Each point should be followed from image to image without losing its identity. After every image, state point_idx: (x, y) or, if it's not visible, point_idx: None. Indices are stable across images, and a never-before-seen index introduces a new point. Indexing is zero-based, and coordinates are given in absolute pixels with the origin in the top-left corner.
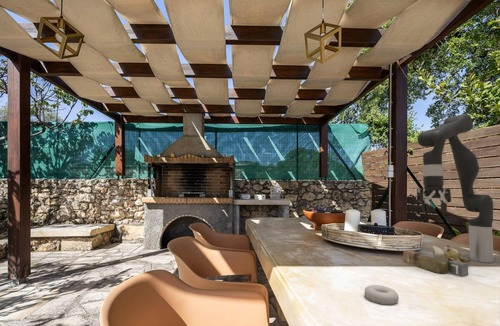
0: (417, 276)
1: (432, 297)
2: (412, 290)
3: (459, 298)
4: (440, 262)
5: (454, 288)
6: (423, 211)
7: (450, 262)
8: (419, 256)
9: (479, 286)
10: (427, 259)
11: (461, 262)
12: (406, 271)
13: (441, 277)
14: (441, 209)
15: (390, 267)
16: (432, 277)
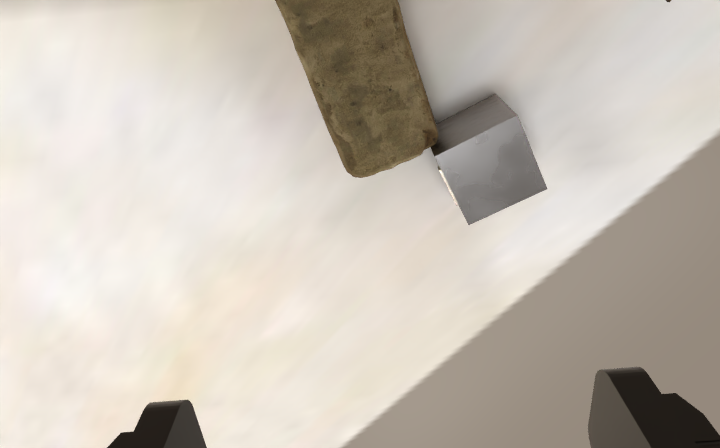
0: (186, 204)
1: (135, 426)
2: (82, 377)
3: (235, 426)
4: (362, 175)
5: (284, 344)
6: (155, 415)
7: (441, 167)
8: (294, 9)
9: (425, 314)
10: (316, 94)
11: (520, 168)
12: (156, 114)
13: (322, 208)
14: (622, 418)
15: (68, 25)
16: (268, 213)
